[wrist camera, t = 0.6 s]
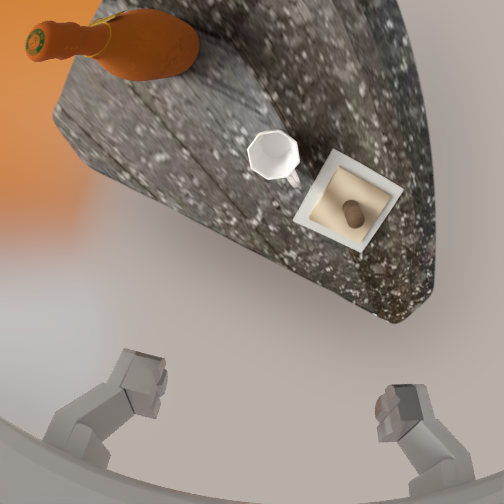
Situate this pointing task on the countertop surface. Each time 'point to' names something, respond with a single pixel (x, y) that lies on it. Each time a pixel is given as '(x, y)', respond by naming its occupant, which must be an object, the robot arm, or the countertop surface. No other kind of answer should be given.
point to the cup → (275, 156)
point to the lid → (349, 205)
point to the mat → (323, 180)
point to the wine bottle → (121, 43)
